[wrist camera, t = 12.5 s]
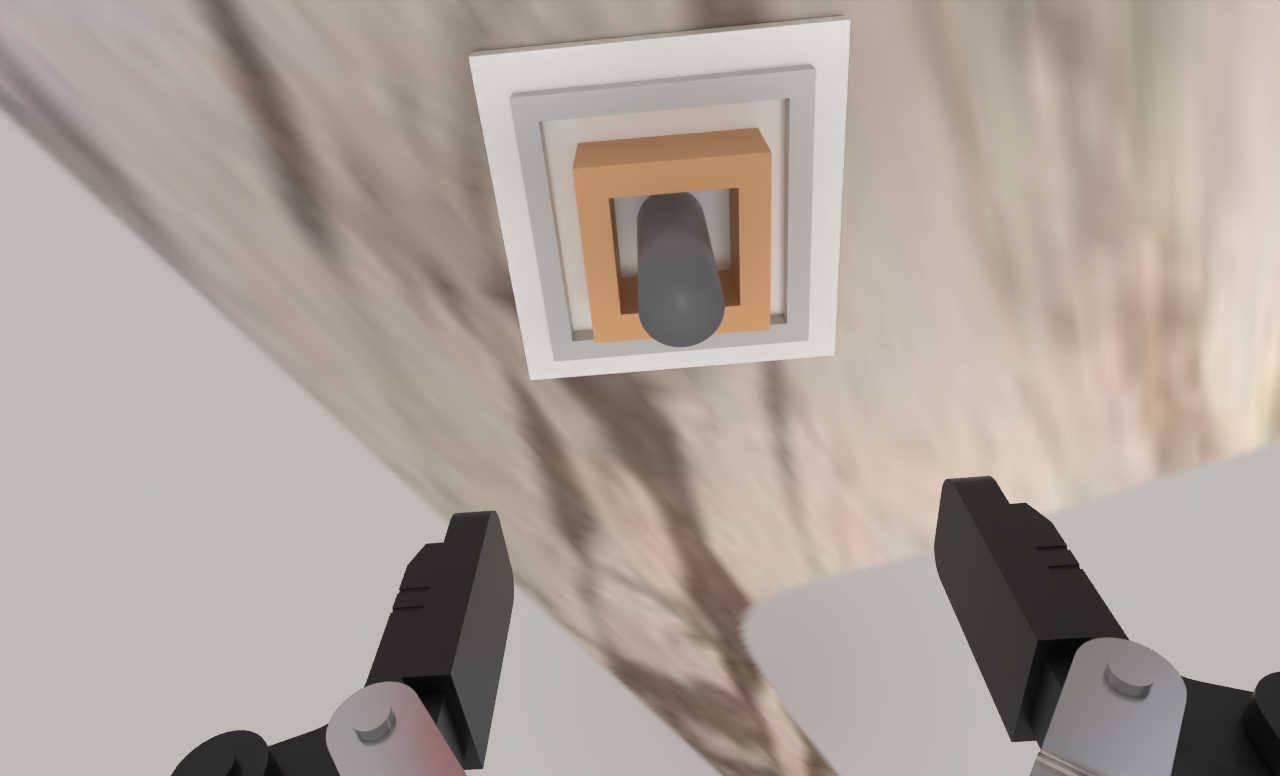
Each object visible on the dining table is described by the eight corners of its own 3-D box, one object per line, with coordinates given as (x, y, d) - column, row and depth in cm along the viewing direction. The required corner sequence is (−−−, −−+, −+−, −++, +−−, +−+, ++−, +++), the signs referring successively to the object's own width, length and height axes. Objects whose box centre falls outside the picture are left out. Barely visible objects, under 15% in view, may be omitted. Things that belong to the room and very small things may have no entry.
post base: (843, 15, 25) (921, 56, 18) (829, 343, 31) (883, 464, 25) (473, 51, 26) (416, 105, 19) (532, 367, 32) (506, 493, 25)
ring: (757, 127, 26) (771, 151, 23) (758, 292, 29) (770, 329, 27) (578, 142, 26) (572, 168, 24) (597, 304, 29) (594, 343, 27)
